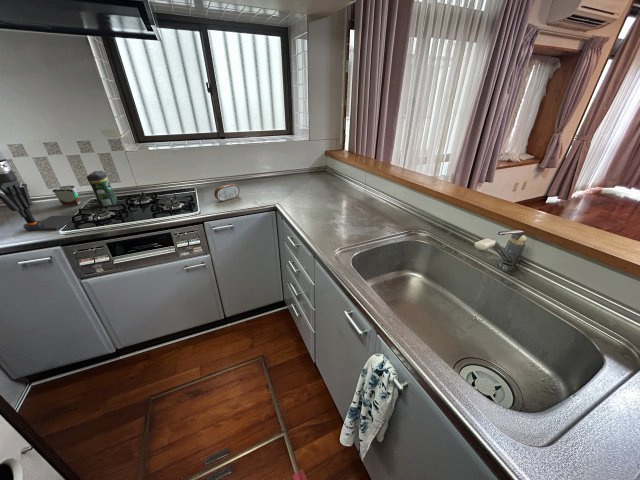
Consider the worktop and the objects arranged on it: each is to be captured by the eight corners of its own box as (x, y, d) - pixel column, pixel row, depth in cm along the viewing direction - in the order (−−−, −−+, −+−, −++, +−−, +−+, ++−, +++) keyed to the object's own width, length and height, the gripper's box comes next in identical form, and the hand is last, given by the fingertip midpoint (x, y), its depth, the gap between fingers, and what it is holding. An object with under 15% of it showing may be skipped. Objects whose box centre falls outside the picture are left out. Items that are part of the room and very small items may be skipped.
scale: (23, 232, 124) (19, 226, 123) (50, 218, 137) (47, 213, 136) (55, 231, 124) (52, 225, 123) (80, 217, 137) (77, 212, 136)
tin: (238, 195, 163) (236, 181, 158) (241, 196, 161) (239, 182, 157) (215, 201, 153) (212, 187, 149) (218, 203, 152) (215, 189, 147)
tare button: (27, 227, 124) (25, 224, 124) (33, 224, 127) (31, 221, 126) (34, 227, 125) (31, 224, 124) (40, 224, 127) (38, 221, 126)
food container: (89, 201, 157) (81, 185, 152) (81, 205, 152) (72, 188, 146) (69, 201, 157) (60, 185, 152) (60, 205, 152) (50, 188, 147)
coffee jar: (104, 202, 156) (90, 170, 146) (119, 200, 158) (106, 169, 148) (97, 208, 148) (82, 175, 138) (114, 206, 150) (100, 173, 140)
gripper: (-7, 176, 107) (26, 228, 119) (23, 168, 119) (51, 216, 131) (-26, 177, 107) (9, 228, 119) (6, 168, 119) (35, 216, 130)
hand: (31, 222), depth 125 cm, fingers closed
